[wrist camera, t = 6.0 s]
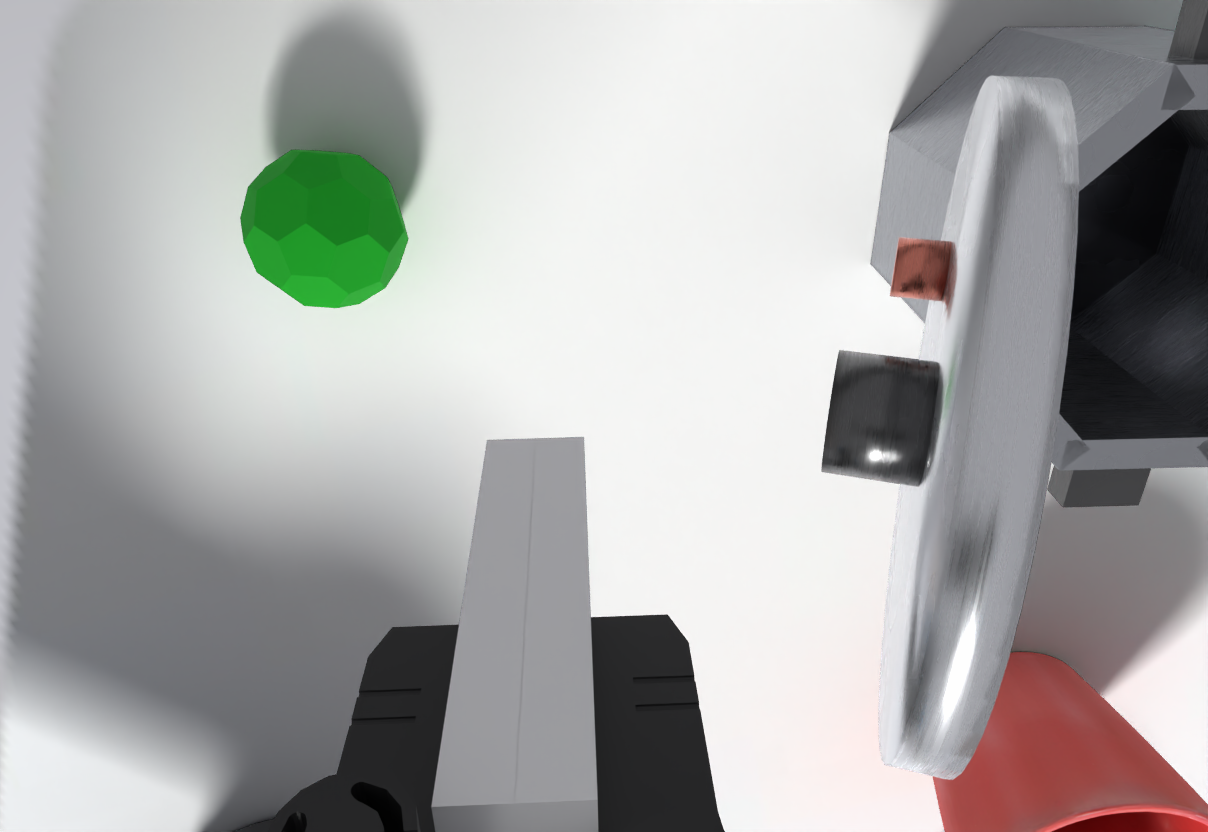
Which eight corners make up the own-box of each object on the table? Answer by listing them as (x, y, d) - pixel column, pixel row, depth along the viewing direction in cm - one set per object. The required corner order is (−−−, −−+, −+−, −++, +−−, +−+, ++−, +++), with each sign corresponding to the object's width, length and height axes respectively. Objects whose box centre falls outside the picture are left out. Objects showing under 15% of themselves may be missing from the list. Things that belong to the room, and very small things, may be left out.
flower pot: (892, 800, 46) (967, 997, 38) (887, 643, 41) (972, 831, 32) (1099, 768, 46) (1223, 961, 37) (1120, 605, 40) (1270, 786, 32)
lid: (946, 506, 25) (828, 487, 26) (1047, 35, 20) (890, 32, 20) (959, 954, 14) (755, 895, 15) (1206, 177, 8) (847, 155, 9)
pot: (851, 393, 35) (937, 530, 27) (914, -43, 27) (1056, -32, 19) (1130, 386, 35) (1296, 520, 27) (1265, -45, 28) (1544, -35, 20)
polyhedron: (239, 214, 30) (188, 260, 26) (319, 100, 29) (278, 130, 25) (362, 304, 32) (334, 360, 28) (445, 201, 30) (427, 245, 26)
